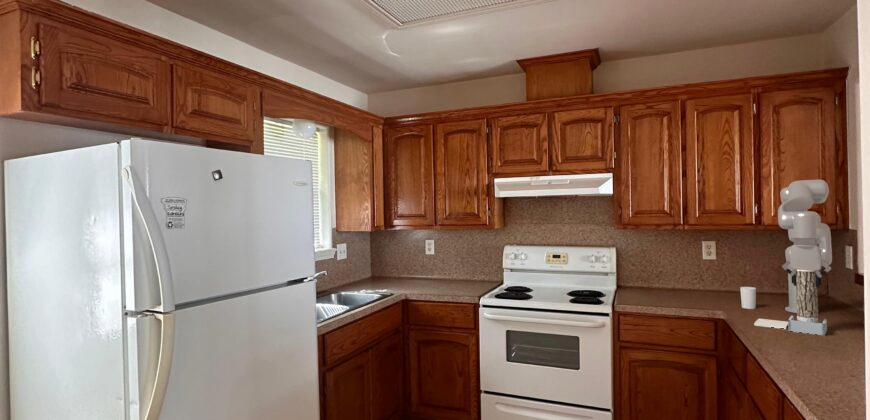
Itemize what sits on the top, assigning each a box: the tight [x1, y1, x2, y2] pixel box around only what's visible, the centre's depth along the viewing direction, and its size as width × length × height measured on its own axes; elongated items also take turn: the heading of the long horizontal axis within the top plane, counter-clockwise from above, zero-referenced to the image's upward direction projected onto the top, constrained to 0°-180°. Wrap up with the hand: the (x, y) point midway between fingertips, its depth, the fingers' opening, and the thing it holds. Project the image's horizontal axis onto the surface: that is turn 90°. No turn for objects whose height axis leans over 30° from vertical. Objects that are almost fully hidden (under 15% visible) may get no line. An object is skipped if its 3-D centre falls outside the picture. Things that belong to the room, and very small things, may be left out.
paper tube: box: [796, 269, 819, 323], centre depth 195 cm, size 7×7×25 cm
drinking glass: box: [739, 286, 757, 310], centre depth 241 cm, size 7×7×10 cm
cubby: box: [787, 315, 828, 336], centre depth 195 cm, size 11×12×4 cm
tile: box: [753, 318, 788, 330], centre depth 206 cm, size 11×11×1 cm
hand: (806, 285), depth 195 cm, fingers closed on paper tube, 6 cm apart
